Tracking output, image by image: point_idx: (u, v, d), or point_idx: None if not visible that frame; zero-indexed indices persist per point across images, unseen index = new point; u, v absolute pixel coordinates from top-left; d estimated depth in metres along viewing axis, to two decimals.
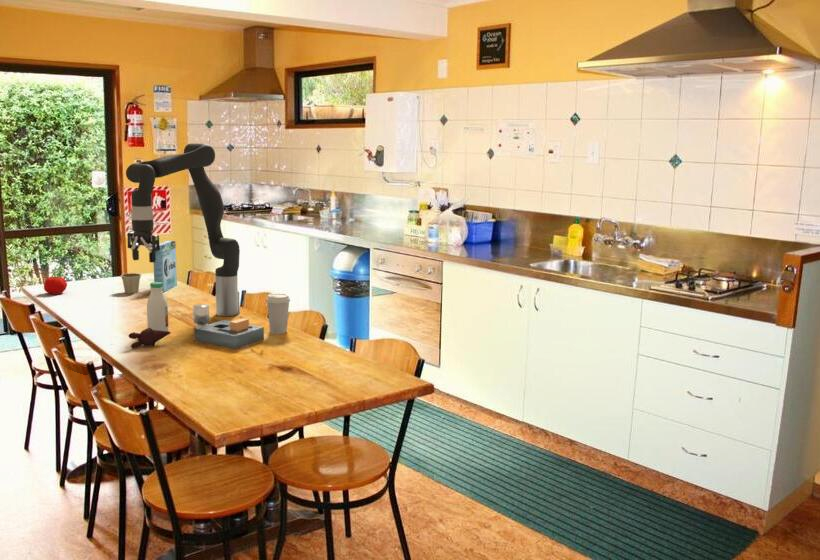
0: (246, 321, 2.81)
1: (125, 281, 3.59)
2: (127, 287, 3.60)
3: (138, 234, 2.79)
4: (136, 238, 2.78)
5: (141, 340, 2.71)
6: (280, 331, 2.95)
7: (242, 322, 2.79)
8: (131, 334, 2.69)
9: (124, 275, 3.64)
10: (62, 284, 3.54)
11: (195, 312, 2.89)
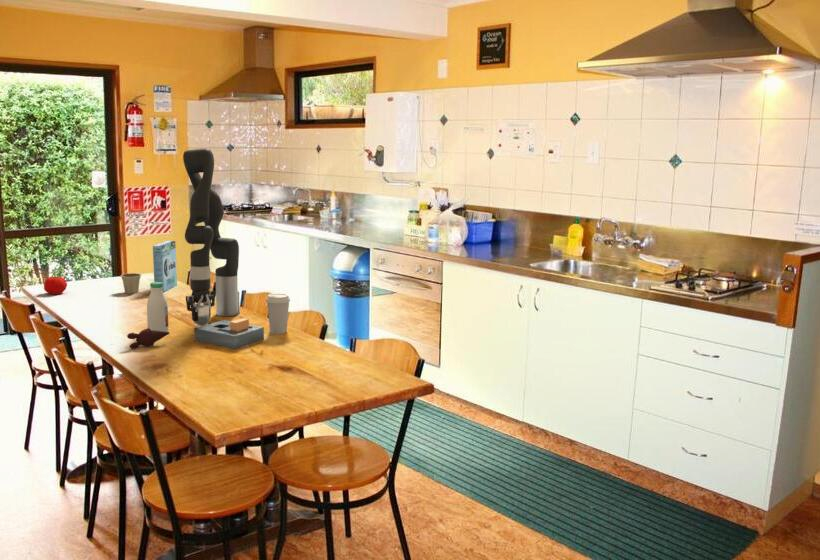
0: (246, 321, 2.81)
1: (125, 281, 3.59)
2: (127, 287, 3.60)
3: (200, 293, 2.88)
4: (202, 297, 2.88)
5: (140, 340, 2.70)
6: (280, 331, 2.95)
7: (242, 322, 2.79)
8: (129, 334, 2.69)
9: (124, 275, 3.64)
10: (62, 284, 3.54)
11: None
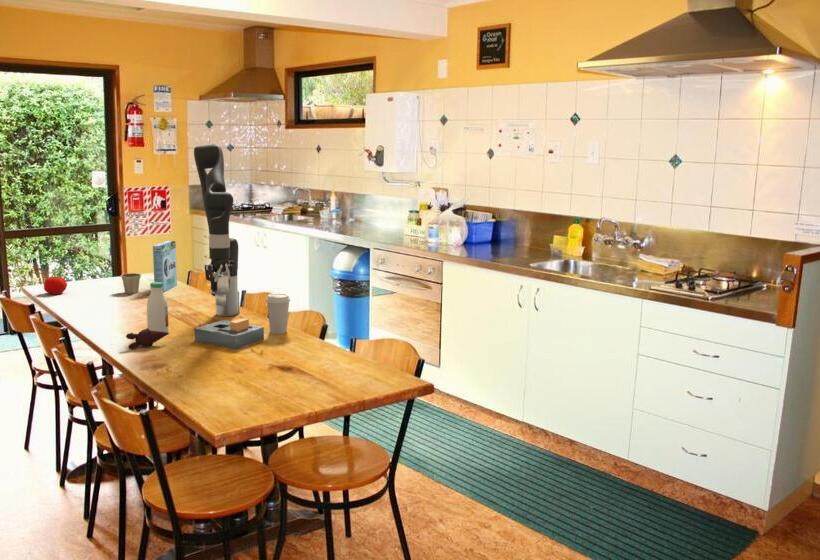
0: (246, 321, 2.81)
1: (125, 281, 3.59)
2: (127, 287, 3.60)
3: (219, 262, 2.79)
4: (221, 266, 2.78)
5: (138, 341, 2.70)
6: (280, 331, 2.95)
7: (242, 322, 2.79)
8: (128, 334, 2.68)
9: (124, 275, 3.64)
10: (62, 284, 3.54)
11: None
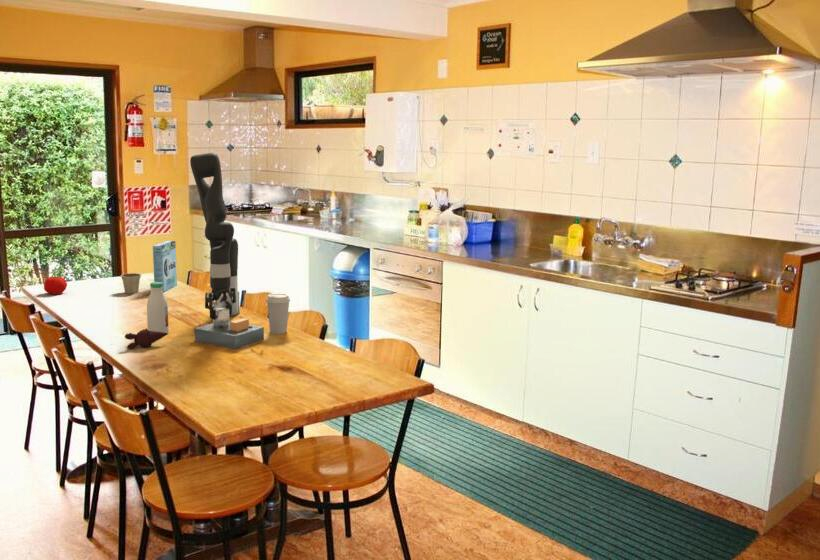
0: (246, 321, 2.81)
1: (125, 281, 3.59)
2: (127, 287, 3.60)
3: (220, 291, 2.81)
4: (221, 295, 2.80)
5: (137, 341, 2.69)
6: (280, 331, 2.95)
7: (242, 322, 2.79)
8: (127, 335, 2.68)
9: (124, 275, 3.64)
10: (62, 284, 3.54)
11: None
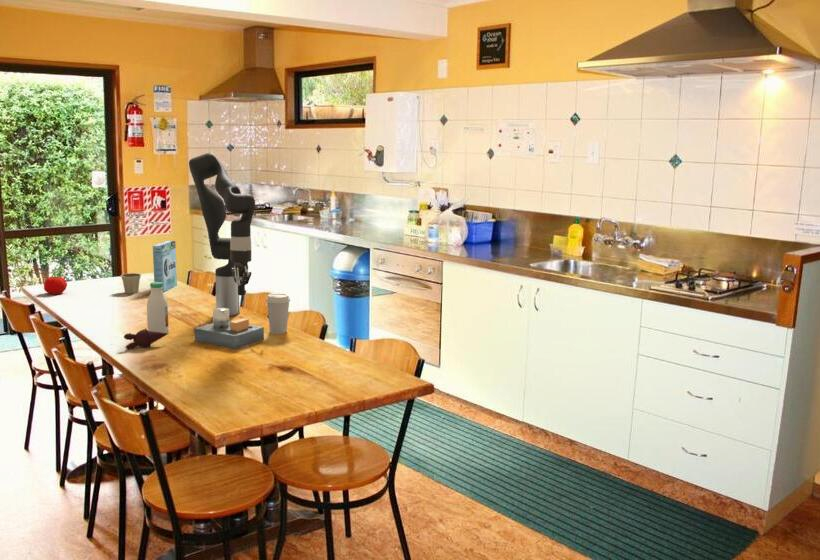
0: (246, 321, 2.81)
1: (125, 281, 3.59)
2: (127, 287, 3.60)
3: None
4: None
5: (136, 341, 2.69)
6: (280, 331, 2.95)
7: (242, 322, 2.79)
8: (126, 335, 2.68)
9: (124, 275, 3.64)
10: (62, 284, 3.54)
11: (215, 316, 2.81)
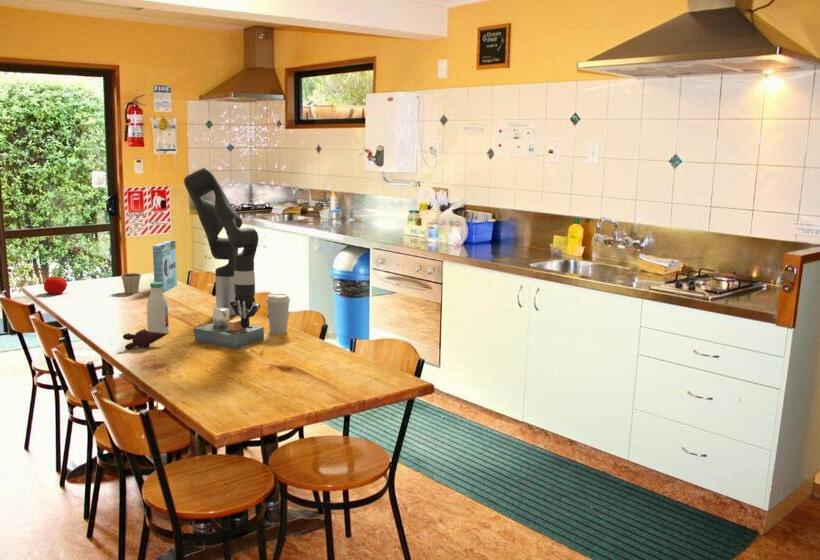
0: None
1: (125, 281, 3.59)
2: (127, 287, 3.60)
3: None
4: None
5: (135, 341, 2.69)
6: (280, 331, 2.95)
7: (240, 322, 2.80)
8: (125, 335, 2.68)
9: (124, 275, 3.64)
10: (62, 284, 3.54)
11: (215, 316, 2.81)
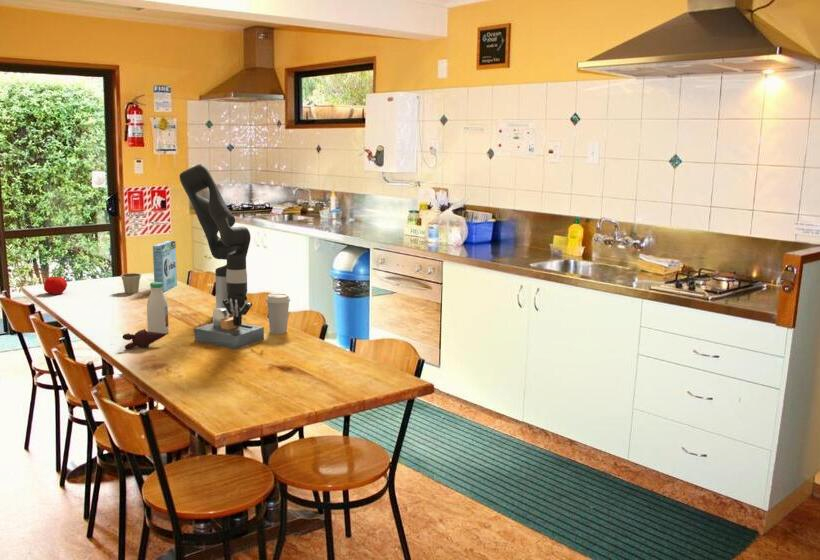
0: None
1: (125, 281, 3.59)
2: (127, 287, 3.60)
3: None
4: None
5: (135, 341, 2.69)
6: (280, 331, 2.95)
7: None
8: (125, 335, 2.67)
9: (124, 275, 3.64)
10: (62, 284, 3.54)
11: (215, 316, 2.81)
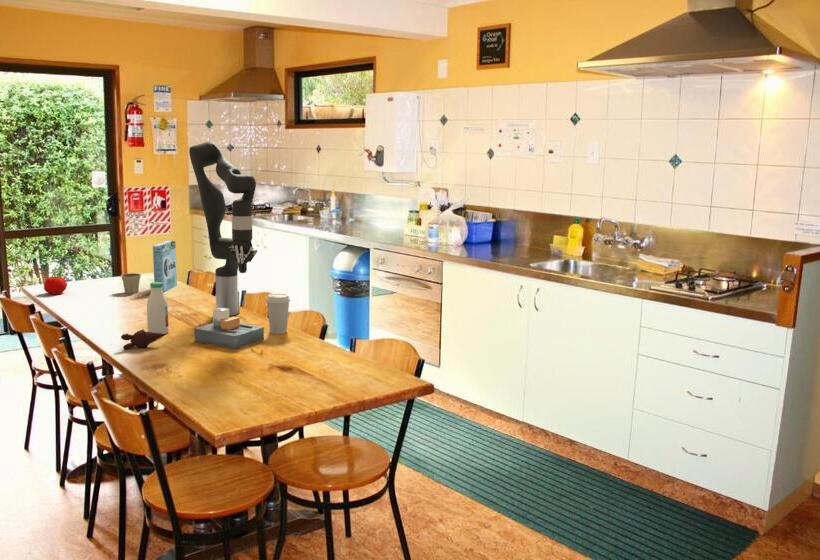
0: (237, 319, 2.83)
1: (125, 281, 3.59)
2: (127, 287, 3.60)
3: None
4: None
5: (133, 342, 2.68)
6: (280, 331, 2.95)
7: (233, 320, 2.81)
8: (123, 335, 2.67)
9: (124, 275, 3.64)
10: (62, 284, 3.54)
11: (215, 316, 2.81)
